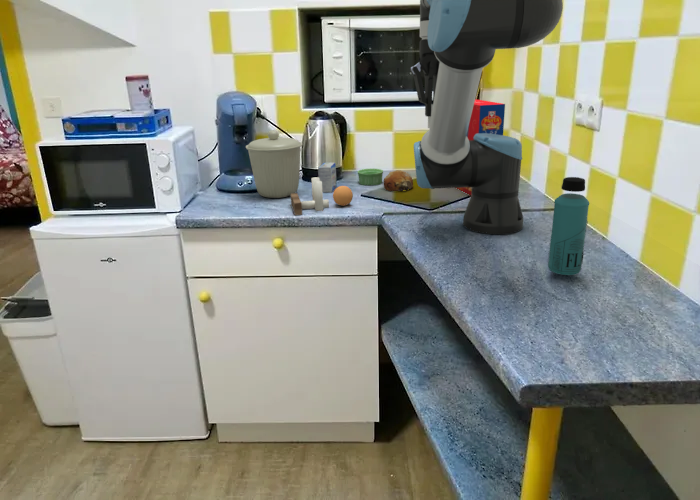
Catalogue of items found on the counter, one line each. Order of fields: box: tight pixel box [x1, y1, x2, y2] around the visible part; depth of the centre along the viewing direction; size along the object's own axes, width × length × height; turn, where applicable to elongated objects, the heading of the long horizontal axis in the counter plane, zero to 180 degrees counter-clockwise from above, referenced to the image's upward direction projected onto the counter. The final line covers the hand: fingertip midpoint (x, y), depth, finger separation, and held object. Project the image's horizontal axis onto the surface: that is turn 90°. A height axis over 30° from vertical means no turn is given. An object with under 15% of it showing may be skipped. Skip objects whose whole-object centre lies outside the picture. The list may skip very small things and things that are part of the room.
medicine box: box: [317, 161, 338, 194], centre depth 178 cm, size 8×4×9 cm, turn 170°
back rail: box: [290, 192, 303, 216], centre depth 158 cm, size 12×2×4 cm, turn 11°
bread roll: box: [383, 169, 414, 192], centre depth 178 cm, size 10×10×8 cm
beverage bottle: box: [547, 176, 590, 276], centre depth 103 cm, size 6×7×20 cm
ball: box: [332, 185, 354, 207], centre depth 160 cm, size 6×6×6 cm
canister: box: [245, 129, 303, 199], centre depth 172 cm, size 18×18×21 cm
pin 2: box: [314, 181, 324, 212], centre depth 156 cm, size 2×2×8 cm
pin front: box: [301, 198, 330, 211], centre depth 159 cm, size 2×2×8 cm
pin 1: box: [310, 176, 320, 201], centre depth 160 cm, size 2×2×8 cm
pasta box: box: [456, 98, 506, 196], centre depth 172 cm, size 28×8×28 cm, turn 14°
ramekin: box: [357, 168, 384, 187], centre depth 187 cm, size 9×9×4 cm
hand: (432, 128), depth 150 cm, fingers closed
